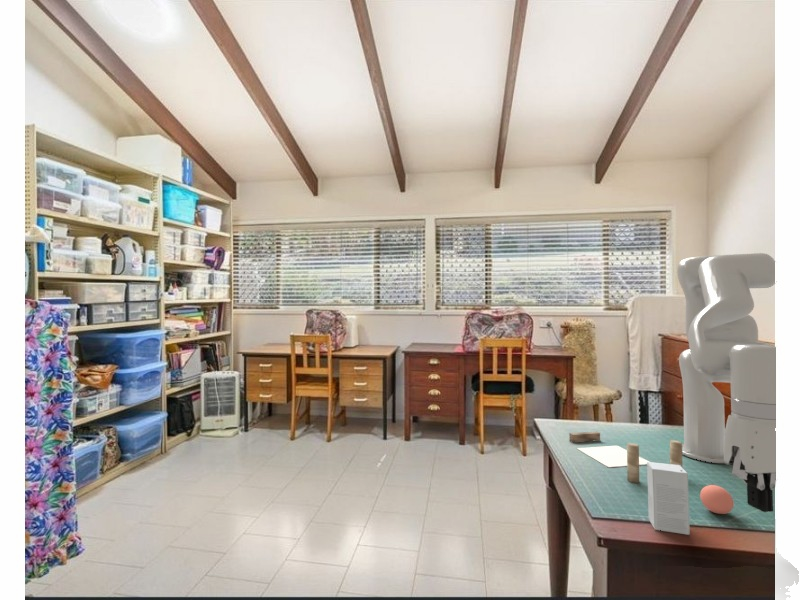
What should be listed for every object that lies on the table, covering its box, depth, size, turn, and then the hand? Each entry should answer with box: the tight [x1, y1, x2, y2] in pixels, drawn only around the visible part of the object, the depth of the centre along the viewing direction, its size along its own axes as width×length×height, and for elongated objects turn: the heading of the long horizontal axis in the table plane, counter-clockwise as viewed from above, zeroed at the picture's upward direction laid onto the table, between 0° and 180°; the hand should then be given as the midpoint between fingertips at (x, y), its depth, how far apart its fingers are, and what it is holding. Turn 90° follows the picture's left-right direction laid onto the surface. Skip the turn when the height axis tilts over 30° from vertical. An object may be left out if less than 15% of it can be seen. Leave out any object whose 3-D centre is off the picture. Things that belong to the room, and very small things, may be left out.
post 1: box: [626, 442, 640, 484], centre depth 96 cm, size 3×3×9 cm
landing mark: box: [576, 445, 650, 469], centre depth 112 cm, size 14×14×1 cm
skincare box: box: [646, 461, 691, 536], centre depth 76 cm, size 6×4×12 cm
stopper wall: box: [569, 431, 601, 443], centre depth 125 cm, size 10×2×2 cm, turn 99°
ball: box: [699, 484, 735, 515], centre depth 81 cm, size 6×6×6 cm
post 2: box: [669, 439, 684, 469], centre depth 98 cm, size 3×3×9 cm
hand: (760, 507), depth 71 cm, fingers closed
